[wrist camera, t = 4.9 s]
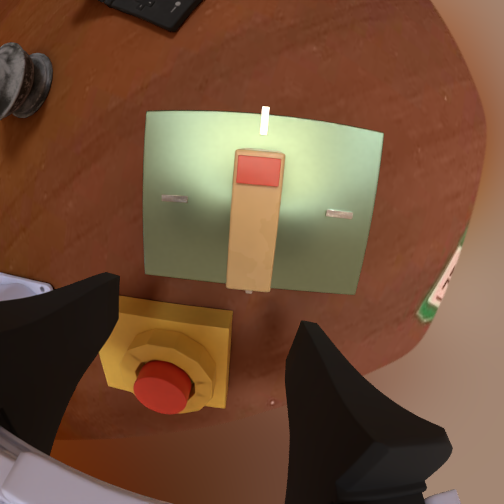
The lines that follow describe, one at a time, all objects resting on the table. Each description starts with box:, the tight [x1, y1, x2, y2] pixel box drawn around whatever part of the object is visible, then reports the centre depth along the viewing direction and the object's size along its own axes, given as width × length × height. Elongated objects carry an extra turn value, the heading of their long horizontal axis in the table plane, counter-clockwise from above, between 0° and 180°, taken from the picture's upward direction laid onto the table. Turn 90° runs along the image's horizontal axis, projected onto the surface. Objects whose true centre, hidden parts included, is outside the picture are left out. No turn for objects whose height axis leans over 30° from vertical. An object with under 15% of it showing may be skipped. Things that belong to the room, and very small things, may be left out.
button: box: [133, 360, 192, 414], centre depth 18 cm, size 4×4×2 cm
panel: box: [143, 106, 384, 295], centre depth 16 cm, size 12×10×3 cm
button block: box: [99, 295, 233, 414], centre depth 20 cm, size 10×8×4 cm
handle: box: [226, 148, 285, 292], centre depth 13 cm, size 6×2×4 cm, turn 175°
